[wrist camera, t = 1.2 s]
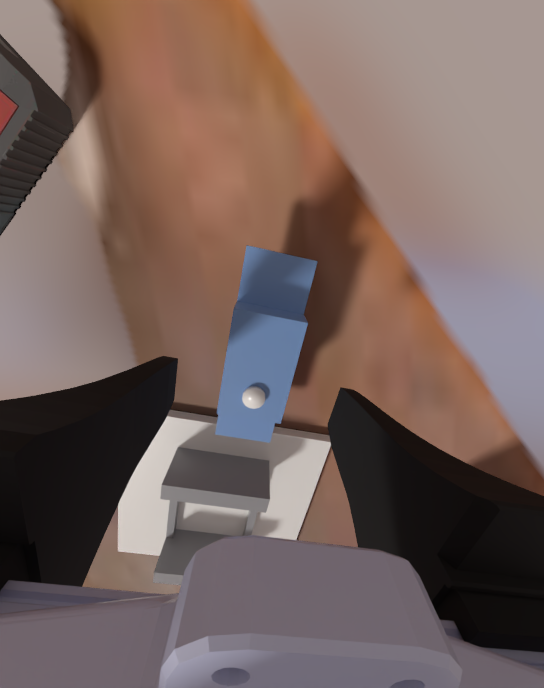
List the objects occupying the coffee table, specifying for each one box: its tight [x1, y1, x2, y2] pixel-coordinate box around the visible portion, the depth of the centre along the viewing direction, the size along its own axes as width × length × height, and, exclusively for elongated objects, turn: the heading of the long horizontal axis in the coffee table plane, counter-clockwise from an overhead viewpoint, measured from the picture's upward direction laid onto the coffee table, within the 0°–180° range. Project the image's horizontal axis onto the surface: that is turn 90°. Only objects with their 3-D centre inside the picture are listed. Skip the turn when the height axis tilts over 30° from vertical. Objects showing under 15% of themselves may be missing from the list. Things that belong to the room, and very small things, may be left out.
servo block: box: [215, 245, 318, 443], centre depth 16 cm, size 4×12×5 cm, turn 168°
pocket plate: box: [118, 410, 331, 585], centre depth 21 cm, size 16×16×4 cm
